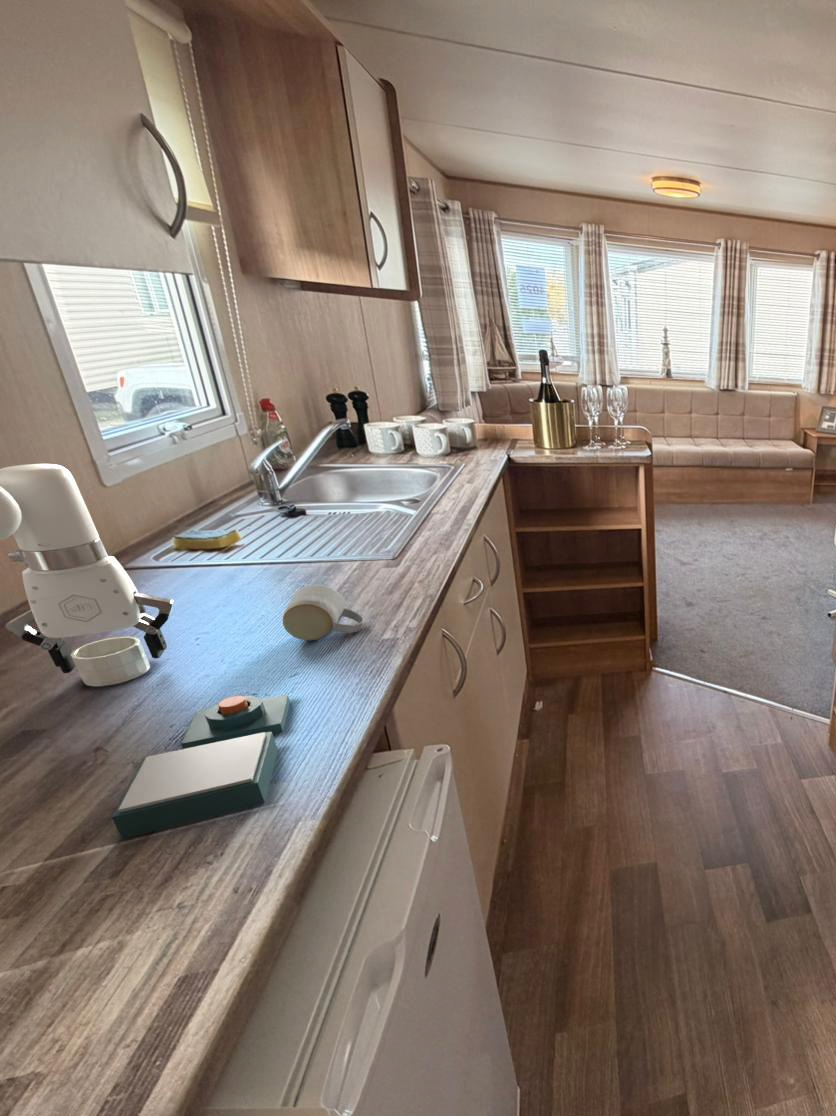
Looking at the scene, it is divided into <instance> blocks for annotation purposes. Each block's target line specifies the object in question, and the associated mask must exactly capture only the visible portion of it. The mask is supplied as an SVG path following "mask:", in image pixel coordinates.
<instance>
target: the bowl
mask: <svg viewBox="0 0 836 1116" xmlns="http://www.w3.org/2000/svg"><path fill="white" fill-rule="evenodd" d="M72 651H73V652H72V653H71V657H72V659H73V661H74V663H75V665H76V666H75V668H76V669H77V672H78V674H79V676H80V678H81V680H82V683H83V684H84V685H86V686H89V687H106V686H107V687H108V686H113V685H117V684H118V685H119V684H122V683H125V682H129V681H131V680H134V679H137V678H139V677H141V676H143V675H144V674H146V673H147V672H148V671H149V670H150V669H151V664H150V661H149V659H148V657H147V654H146V652H145V649H144V647H143V644H142V642H141V641H140V639H139V637H134V636H115V637H108V638H104V639H100V640H95V641H93V642H90V643H87V644H84V645H81V646H80V647H77V648H76V649H74V650H72Z"/></svg>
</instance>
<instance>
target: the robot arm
mask: <svg viewBox="0 0 836 1116" xmlns="http://www.w3.org/2000/svg"><path fill="white" fill-rule="evenodd" d="M10 536H13V538H14V540H15V542H16V544H17V546H18V549H17V550H16V551H10V552H8V554H7V557H8V559H9V561H10V562H11V563H15V562H19V563H23V564H24V565H25V567H26V568H25V569H24V570H22V572H21V576H22V582H23V587H24V588H23V589H24V591H25V595H26V599H27V602H28V605H29V608H30V609H29V610H28V611H26V612H24V613H22V614H20V615H18V616H16V617H14V618H12V619H11V620H9V621H8V622H7V623H6V624H5V626H4V627H5V628H6V629H7V630H8V631H10V632H12V633H13V634H15V635H16V636H18V637H20V638H21V639H22V640H23V641H24V642H27V643H30V644H32V645H35V646H38V647H39V648H40V649H41V650H44V651H47V652H48V653H49V656H50V658H51V660H52V662H53V663H54V666H55V667H57V668H58V667H59V668H60V669H61V672H62V673H63V674H70V673H71V672H72V671H73V670H74V669H75V668H76V665H75V663H74V661H73V659H72V657H71V653H72V652H73V651H74V650H73V649H72V646H71V645H70V643H69V642H68V641H67V640H66V639H65V638H72V637H79V636H86V635H93V634H100V633H101V634H102V633H107V632H113V631H114V632H115V631H121V630H126V629H130V628H132V627H133V628H135V629H137V630H139V631H142V632H144V633H145V634H144V635H143V640H144V642H145V644H146V646H147V648H148V652H149V654H150V655H151V658H152V659H160V658H161V657H162V656H163V653H164V652H165V651H166V650H167V647H168V646H167V645H168V643H167V641H166V639H165V637H164V634H163V632H162V630H161V628H162V627H163V626H164V624H166V622H168V620H169V619H170V617H171V614H172V611H173V608H174V605H175V600H173V599H171V598H166V597H161V596H155V595H150V594H145V593H140V592H139V591H138V589H137V587H136V586H135V584H134V582H133V581H132V579H131V577H130V575H129V574H128V572H127V571H126V570H125V569H124V567H123V565H121V563H120V562H119V561H118V560H117V558H116V557H115V556H113V555H108V553H107V551H106V548H105V546H104V544H103V541H102V540H101V537H100V535H99V532H98V530H97V528H96V525H95V523H94V521H93V519H92V516H91V513H90V511H89V509H88V507H87V505H86V502H85V500H84V498H83V496H82V494H81V491H80V489H79V487H78V484H77V482H76V479H75V478H74V476H73V475H72V473H71V471H70V470H68V469H67V468H66V467H64V466H62V465H59V464H53V463H29V464H19V465H12V466H6V467H1V468H0V542H1V541H3V540H5V539H8V538H9V537H10ZM146 607H151V608H157V610H158V614H157V616H155V617H154V616H151V615H149V614H147V611H146V609H147V608H146ZM34 621H35V623H36V625H37V628H38V629H36V628H32V626H30V625H29V624H30V623H32V622H34Z"/></svg>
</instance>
